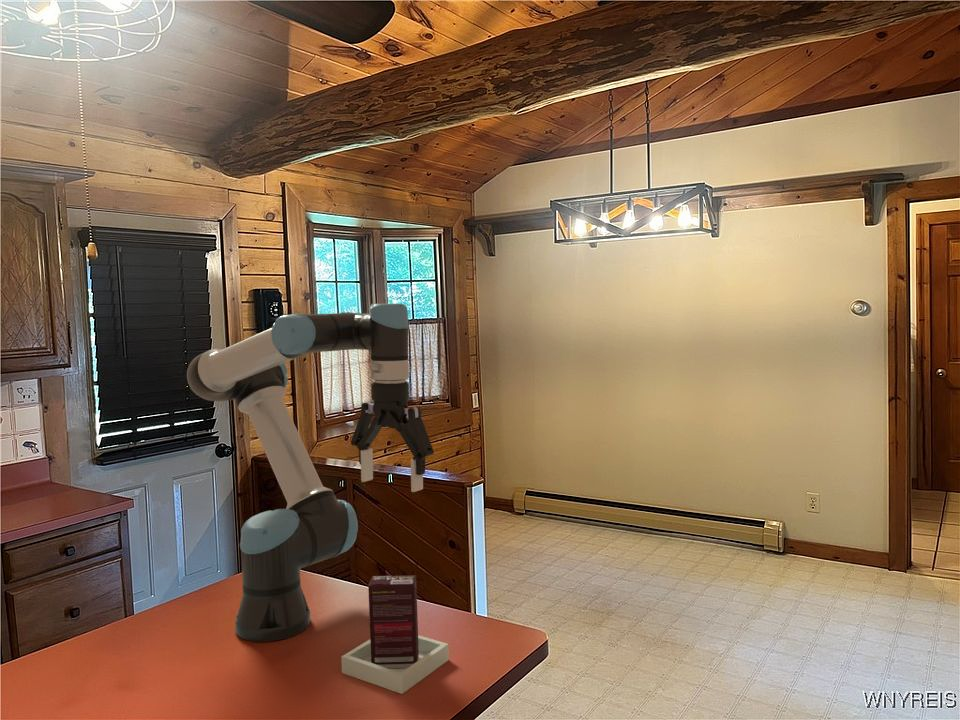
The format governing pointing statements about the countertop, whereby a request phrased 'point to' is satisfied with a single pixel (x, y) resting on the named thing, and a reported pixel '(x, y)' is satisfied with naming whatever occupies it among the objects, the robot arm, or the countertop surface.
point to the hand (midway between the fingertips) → (391, 485)
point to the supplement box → (393, 621)
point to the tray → (395, 678)
